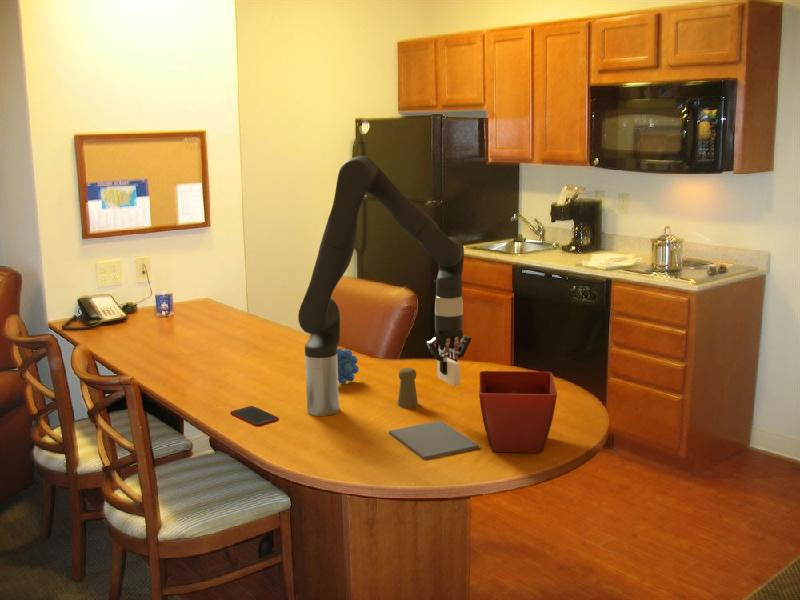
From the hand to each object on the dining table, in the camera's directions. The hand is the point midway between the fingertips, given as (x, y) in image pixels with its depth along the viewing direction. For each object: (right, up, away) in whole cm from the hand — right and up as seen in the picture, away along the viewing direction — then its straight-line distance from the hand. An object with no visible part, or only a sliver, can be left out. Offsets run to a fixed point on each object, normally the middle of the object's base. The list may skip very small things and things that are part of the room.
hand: (448, 373), depth 235 cm
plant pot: (+17, -17, -12) cm, 27 cm away
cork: (-11, -11, +18) cm, 24 cm away
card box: (0, -2, 0) cm, 2 cm away
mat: (-5, -17, -9) cm, 20 cm away
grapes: (-31, -7, +37) cm, 49 cm away
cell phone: (-55, -14, +10) cm, 57 cm away
